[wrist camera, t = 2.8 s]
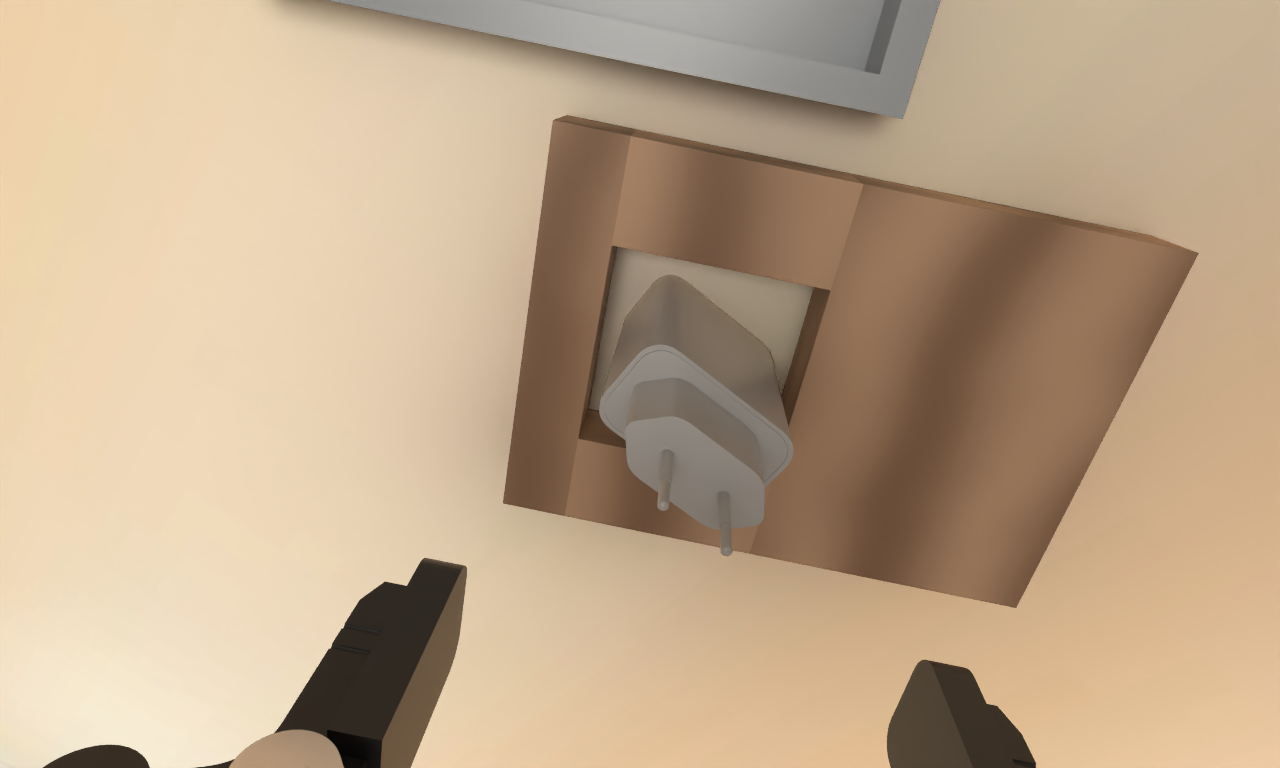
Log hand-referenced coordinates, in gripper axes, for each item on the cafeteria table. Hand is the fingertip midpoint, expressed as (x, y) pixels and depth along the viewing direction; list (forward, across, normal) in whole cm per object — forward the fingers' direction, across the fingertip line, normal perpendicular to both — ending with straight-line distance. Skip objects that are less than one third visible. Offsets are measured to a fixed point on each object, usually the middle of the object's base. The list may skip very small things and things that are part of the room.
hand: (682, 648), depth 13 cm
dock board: (+16, -4, 0) cm, 16 cm away
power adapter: (+16, 0, 0) cm, 16 cm away
